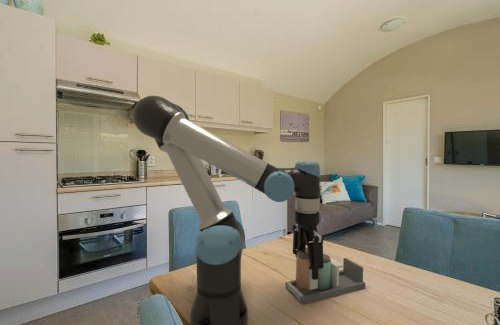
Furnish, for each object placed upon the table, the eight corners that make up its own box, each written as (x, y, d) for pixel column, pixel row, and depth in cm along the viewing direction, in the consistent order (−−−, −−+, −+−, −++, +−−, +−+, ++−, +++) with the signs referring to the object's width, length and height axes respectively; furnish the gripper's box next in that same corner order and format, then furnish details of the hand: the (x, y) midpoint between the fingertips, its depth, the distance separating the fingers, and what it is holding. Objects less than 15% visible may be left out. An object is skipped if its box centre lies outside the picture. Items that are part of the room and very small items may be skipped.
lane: (302, 304, 74) (302, 282, 73) (285, 287, 83) (285, 267, 83) (365, 288, 82) (365, 268, 82) (343, 274, 92) (343, 256, 91)
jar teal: (318, 293, 78) (319, 261, 78) (307, 283, 84) (308, 254, 84) (334, 289, 80) (335, 258, 80) (322, 281, 86) (323, 251, 86)
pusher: (336, 290, 80) (336, 266, 79) (321, 279, 87) (322, 257, 86) (342, 288, 81) (342, 265, 80) (327, 277, 87) (327, 256, 87)
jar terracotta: (319, 287, 78) (320, 255, 78) (302, 290, 76) (303, 257, 76) (308, 278, 84) (308, 248, 83) (292, 281, 81) (293, 250, 81)
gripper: (337, 216, 72) (336, 296, 72) (300, 204, 89) (300, 268, 90) (315, 219, 69) (314, 302, 70) (282, 205, 87) (281, 272, 87)
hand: (306, 283), depth 80 cm, fingers closed on jar terracotta, 6 cm apart
